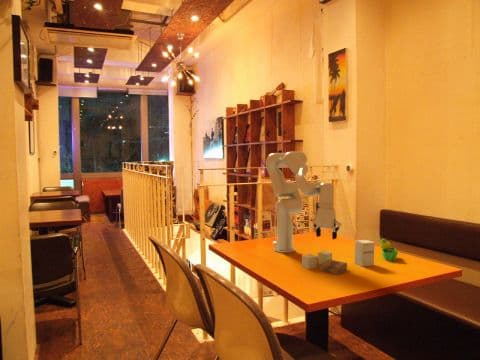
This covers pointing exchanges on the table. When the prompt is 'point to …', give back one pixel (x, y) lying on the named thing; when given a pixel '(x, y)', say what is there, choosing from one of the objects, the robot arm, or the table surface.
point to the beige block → (324, 256)
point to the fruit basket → (388, 250)
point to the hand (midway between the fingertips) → (326, 237)
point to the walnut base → (333, 267)
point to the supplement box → (364, 252)
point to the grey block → (309, 261)
